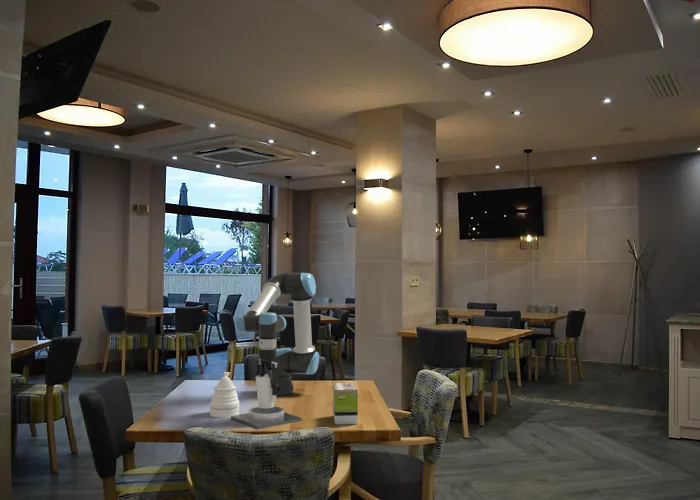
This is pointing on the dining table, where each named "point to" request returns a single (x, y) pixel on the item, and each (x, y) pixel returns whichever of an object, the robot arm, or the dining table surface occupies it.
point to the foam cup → (264, 391)
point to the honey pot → (224, 399)
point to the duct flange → (265, 417)
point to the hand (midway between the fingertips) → (266, 400)
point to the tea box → (345, 403)
